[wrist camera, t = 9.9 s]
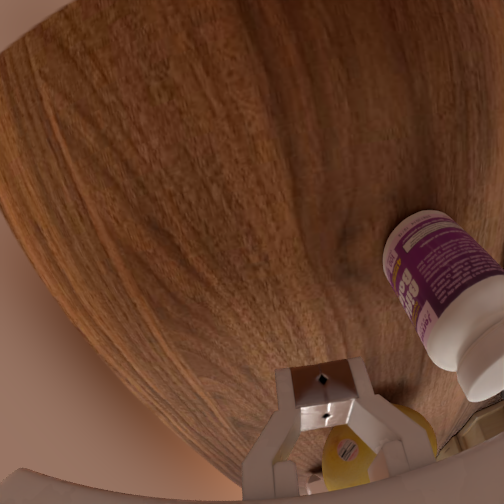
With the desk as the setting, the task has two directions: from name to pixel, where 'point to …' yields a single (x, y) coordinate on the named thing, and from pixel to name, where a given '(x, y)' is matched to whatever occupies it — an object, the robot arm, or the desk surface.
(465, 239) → the pill bottle
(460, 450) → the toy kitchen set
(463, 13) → the desk surface
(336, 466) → the fruit
